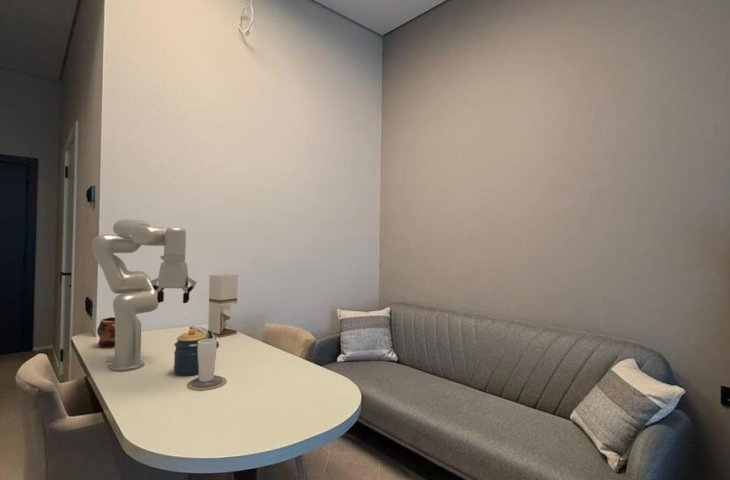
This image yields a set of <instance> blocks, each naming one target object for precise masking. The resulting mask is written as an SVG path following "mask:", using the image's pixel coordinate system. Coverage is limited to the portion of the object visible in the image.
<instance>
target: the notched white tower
mask: <svg viewBox="0 0 730 480" xmlns="http://www.w3.org/2000/svg"><path fill="white" fill-rule="evenodd" d="M238 277H239V275H238V274H231V275H230V274H228V273H220V274H219V273H217V274H209V285H208V286H209V287H208V325H207V326H208V327H207V328H208V329H207V331H208V330H209V329H210V330H211V333H212V334H214V335H215V337H216V338H220V339H221V338H225V337H230V336H234V335H237V330H235V329H232V328H227V321H228V320H230V319H231V306H233V305H237V304H238V286H239V285H238V283H239V282H238Z"/></svg>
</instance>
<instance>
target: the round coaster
mask: <svg viewBox="0 0 730 480" xmlns="http://www.w3.org/2000/svg"><path fill="white" fill-rule="evenodd" d="M227 382H228V381H227V378H226V377H223V376H220V375H215V374H214V379H213V380H212V381H209V382H200V381H199V376H198V377H196V378H194V379H191V380H190V381H188V382H187V384H186V387H187V388H188V389H189V390H192V391H209V390H215V389H217V388H220V387H223V386H224V385H226V384H227Z"/></svg>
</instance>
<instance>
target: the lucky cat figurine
mask: <svg viewBox="0 0 730 480" xmlns="http://www.w3.org/2000/svg"><path fill="white" fill-rule="evenodd" d="M190 329H194V330H195V332H201V333H203V334H204V335H206V338H205V339H215V340H216V343H217V347H218V346H220V342H219V340H217V337H215V335H214V334H212V333H211V330H210V329H209V330H208V329H205V328H204V327H203V326H194V325H191V326H189V330H190Z"/></svg>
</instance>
